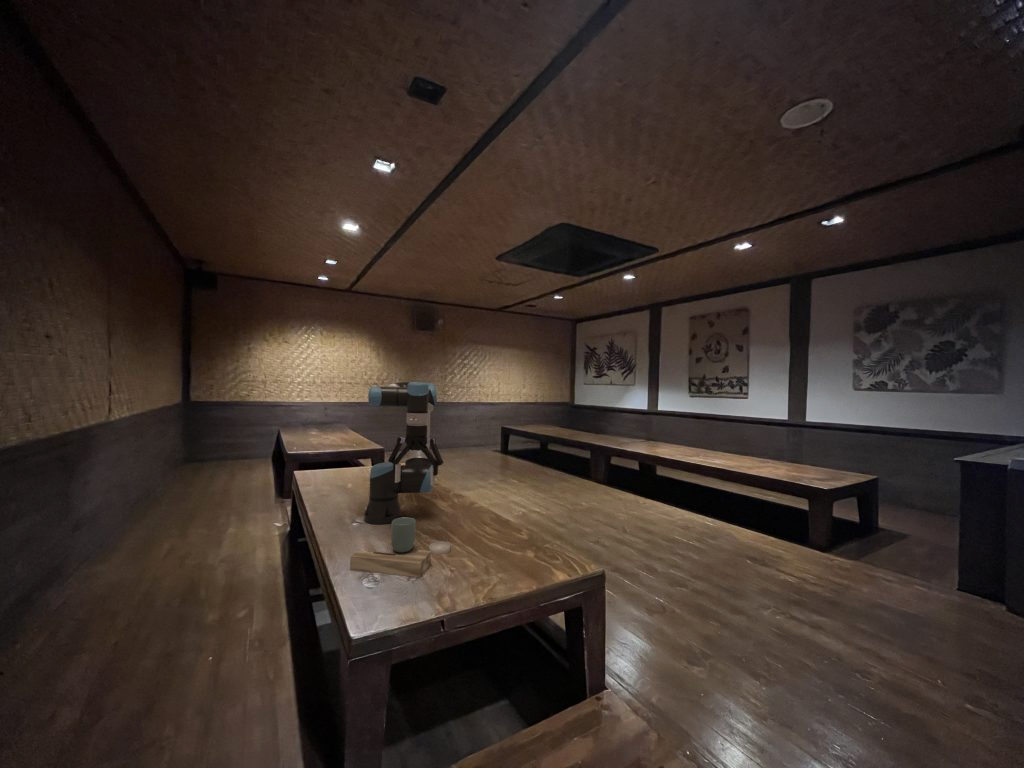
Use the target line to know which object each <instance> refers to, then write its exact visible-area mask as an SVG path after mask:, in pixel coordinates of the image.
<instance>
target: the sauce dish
mask: <svg viewBox="0 0 1024 768" xmlns="http://www.w3.org/2000/svg"><path fill="white" fill-rule="evenodd" d="M428 548H429V549H428V551H431V555H432V554H433V555H444V554H448V553H450V551H451V543H450V542H448V541H442V540H440V541H438V540H437V541H433V542H432V543H430V544H429V547H428Z"/></svg>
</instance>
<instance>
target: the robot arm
mask: <svg viewBox="0 0 1024 768" xmlns="http://www.w3.org/2000/svg"><path fill="white" fill-rule="evenodd" d="M367 397H368V405H369V406H370V407H400V408H402V407H403V408H404V407H406V424H407V425H406V427H405V428H406V429H405V437H403V436H400V437H397V439H396V440H397V441H396V444H395V446H394V447H393V450H392V452H391V454H390V456H389V458H388V460H387V461H385V462H384V461H383V462H379V463H377V464H374V465H373V466H372V467H371V468H370V472H369V473H370V474H369V496H368V498H369V499H368V504H367V506H366V509H365V512H364V515H363V521H364V522H365V523H368V524H371V525H386V524H387V525H388V524H392V521H393V520H394V519H396V518H401V517H403V511H402V508H401V505H400V501H399V494H425V493H427V494H428V493H431V492H432V490H433V487H434V485H435V484H436V476H438V475H439V472H438V471H439V466H441V465H443V464H444V461H443V458H442V455H441V453H440V451H439V448H438V446H437V443H436V438H430V435H431V412H433V411H434V410H435V409H434V408H435V407H437V405H438V399H437V388H436V385H435V384H434V383H432V382H419V381H418V382H415V381H411V382H409V381H399V382H395V383H394V382H393V383H389V384H386V386H379V385H378V386H370V388H369V390H368V396H367ZM404 443H405V444H406V446H405V447H404V448H403V449H402V451H401V448H402V446H403V444H404ZM430 448H431V451H430ZM400 451H401V452H400ZM408 452H409V455H408V458H407V459H405V462H404V465H403V464H401V463H400V462H401V460H402V459H404V457H405V456H406V454H407V453H408Z"/></svg>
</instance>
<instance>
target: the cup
mask: <svg viewBox="0 0 1024 768" xmlns="http://www.w3.org/2000/svg"><path fill="white" fill-rule="evenodd" d="M416 523H417V521H416V519H415V518H414V517H407V516H405V517H403V516H402V517H401V518H396V519H394V520H393V521H392V523H391V528H390V529H391V531H390V533H391V534H390V541H391V543H390V544H391V547H392V549H393V551H394V552H396V553H408V552H410V550H412V549H413V547H414V544H415V541H416V527H417V526H416Z"/></svg>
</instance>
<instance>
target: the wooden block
mask: <svg viewBox="0 0 1024 768" xmlns="http://www.w3.org/2000/svg"><path fill="white" fill-rule="evenodd" d="M349 559H350V563H349V570H350V571H357V572H366V573H367V572H368V573H369V572H370V573H377V574H387V575H394V576H395V575H396V576H403V577H404V576H405V577H413V578H414V577H416V578H421V577H422V575H423V574H424V573H425V572H426V570H427V569H428V568H429V567H430V566H431V564H432V553H431V551H429V550H425V549H424V550H421V549H418V550H417V551H416V552H415V554H414V555H412V556H411V555H403V554H402V555H401V554H396V553H392V552H379V551H373V552H372V551H361V550H357V551H355V553H353V554H352V555H350V558H349Z"/></svg>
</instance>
